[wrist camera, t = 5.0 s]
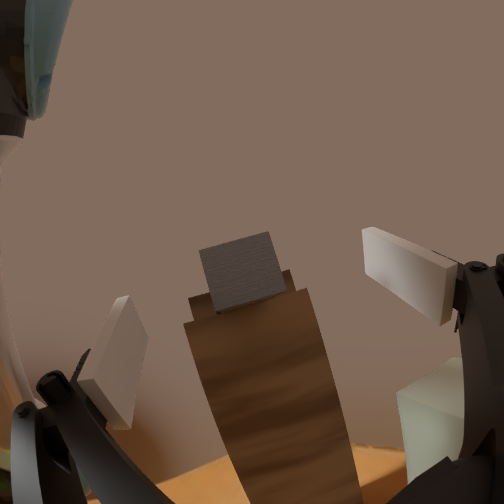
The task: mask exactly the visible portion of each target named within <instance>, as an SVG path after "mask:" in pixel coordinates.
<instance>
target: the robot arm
mask: <svg viewBox="0 0 504 504" xmlns="http://www.w3.org/2000/svg"><path fill="white" fill-rule="evenodd" d="M72 1H73V0H0V179H1V170H2V167H3V164H4V162H5V161H6V160H7V159H8V158H9V156H10V155H11V154H12V153H13V152H14V151H15V150H16V149H17V148H18V147H19V146H20V145H21V144H22V141H23V136H24V130H25V125H26V121H27V120H28V119H29V120H33V121H34V120H35V119H38V118H41V117H42V116H43V115H44V113H45V111H46V106H47V102H48V96H49V91H50V84H51V79H52V72H53V69H54V66H55V62H56V59H57V55H58V50H59V47H60V43H61V39H62V35H63V32H64V28H65V25H66V21H67V18H68V15H69V11H70V8H71V5H72ZM362 237H363V246H364V259H365V273H366V274H367V275H368V276H370V277H371V278H373V279H374V280H376V281H377V282H379V283H380V284H381V285H383V286H384V287H386V288H387V289H389V290H390V291H391V292H393V293H394V294H396V295H397V296H399V297H400V298H401V299H403V300H404V301H406V302H407V303H408V304H410V305H411V306H413V307H414V308H415V309H417V310H418V311H419V312H421V313H422V314H424V315H425V316H426V317H428V318H429V319H430V320H432V321H433V322H434V323H436V324H437V325H438V326H441V325H443V324H445V323H446V322H448V321H450V320H451V316H452V310H453V308H454V309H456V310H457V311H458V315H457V320H456V326H455V331H454V332H457V329H459V336H460V344H461V353H462V364H463V379H464V435H463V444H462V448H461V451H460V454H459V456H458V459H457V460H454V461H451V460H450V458H449V457H448V456H446V457H445V458H444V459H442V460H441V461H439V462H438V463H437V464H435V465H434V466H432V467H431V468H429V469H428V470H426V471H425V472H423V473H422V474H420V475H419V476H417V477H416V478H415V479H414V480H413V481H411V482H410V483H409V484H408V485H407V486H406V487H405V488H404V489H403V490H402V491H400V492H399V493H398V494H397V495H396V496H395V497H394V498H392V499H391V500H390V501H389V502H387V503H386V504H504V254H500V255H498V256H497V259H496V266H492V267H489V266H488V265H486V264H484V263H482V262H478V261H472V262H468V263H466V264H465V265H463V264H461V263H459V262H457V261H455V260H452V259H450V258H447V257H445V256H443V255H441V254H439V253H437V252H435V251H431V250H428V249H426V248H423V247H421V246H419V245H416V244H414V243H411V242H409V241H407V240H404V239H402V238H400V237H397V236H395V235H392V234H390V233H387V232H385V231H382V230H380V229H377V228H375V227H370V228H366V229H363V230H362ZM147 341H148V336H147V334H146V331H145V329H144V327H143V325H142V323H141V321H140V318H139V316H138V314H137V312H136V310H135V307H134V305H133V302H132V300H131V298H130V295H127V296H124V297H120V298H117V299H116V301H115V303H114V305H113V307H112V309H111V310H110V312H109V314H108V316H107V318H106V320H105V322H104V324H103V326H102V328H101V330H100V332H99V334H98V336H97V338H96V340H95V342H94V344H93V346H92V348H91V349H88V350H87V351H86V352H85V353H84V354H83V356H82V357H81V359H80V361H79V363H78V364H79V365H77V367H76V371H75V372H74V374H73V376H72V378H71V380H70V382H68V380H67V379H66V377H65V376H64V374H63V373H62V372H61V371H58V370H55V371H51V372H49V373H47V374H45V375H44V376H43V377H42V378H41V379H40V380H39V381H38V383H37V385H36V390H37V392H38V393H39V394H40V396H41V397H42V398H43V399H44V401H45V402H46V403H47V405H48V406H47V407H46V406H45V405H44V404H43V403H41V402H40V401H38V400H37V399H35V398H34V397H33V395H32V392H31V390H30V387H29V384H28V381H27V378H26V376H25V373H24V370H23V367H22V364H21V360H20V357H19V353H18V350H17V347H16V342H15V339H14V335H13V331H12V326H11V322H10V317H9V312H8V307H7V301H6V296H5V289H4V282H3V274H2V266H1V253H0V504H87V501H86V497H85V496H87V495H88V494H90V493H91V491H93V492H94V494H95V495H96V497H97V498H98V500H99V501H100V503H101V504H175V503H174V502H173V501H171V500H170V499H169V498H168V497H167V496H166V495H165V494H164V493H163V492H162V491H161V490H160V489H159V488H158V487H157V486H156V485H155V484H154V483H153V482H151V480H150V479H149V478H148V477H147V476H146V475H145V474H144V473H143V472H142V471H141V470H140V469H139V468H138V467H137V466H136V465H135V464H134V462H133V461H132V460H131V459H130V458H129V457H128V455H127V454H126V453H125V452H124V451H123V450H122V449H121V447H120V446H119V445H118V444H117V442H116V441H115V440H114V439H113V437H112V436H111V435H110V433H109V432H108V431H107V430H106V429H105V428H106V423H107V422H108V423H109V424H110V425H111V426H112V428H113V429H114V430H123V429H131V425H132V419H133V413H134V407H135V401H136V395H137V390H138V384H139V379H140V374H141V369H142V364H143V360H144V354H145V350H146V346H147Z"/></svg>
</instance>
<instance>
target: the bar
mask: <svg viewBox="0 0 504 504" xmlns="http://www.w3.org/2000/svg"><path fill="white" fill-rule="evenodd" d="M199 253H200V257H201V261H202V264H203V269H204V272H205V276H206V280H207V283H208V287H209V291H210V294H211V298H212V301H213V305H214V308H215V311H217V312H222V313H225V312H228V311H232V310H235V309H239V308H242V307H246V306H249V305H253V304H256V303H259V302H263V301H266V300H269V299H271V298H273V297H275V296H277V295H279V294H281V293H283V292H285V291H287V288H286V285H285V282H284V279H283V276H282V272H281V270H280V266H279V263H278V260H277V257H276V254H275V251H274V247H273V245H272V241H271V238H270V235H269V232H264V233H260V234H257V235H253V236H250V237H246V238H242V239H239V240H235V241H231V242H228V243H224V244H220V245H217V246H213V247H209V248H206V249H202V250H199Z"/></svg>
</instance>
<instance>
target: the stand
mask: <svg viewBox="0 0 504 504" xmlns="http://www.w3.org/2000/svg"><path fill="white" fill-rule="evenodd" d="M282 276H283V279H284V282H285V285H286V288H287V291H285V292H283V293H281V294H279V295H277V296H275V297H273V298H271V299H269V300H266V301H263V302H259V303H256V304H253V305H249V306H246V307H242V308H239V309H235V310H232V311H228V312H225V313H222V312H217V311H215V308H214V305H213V301H212V298H211V294H210V292H209V293H205V294H202V295H198V296H194V297H191V298H188V299H189V304H190V307H191V311H192V315H193V318H194V321H191V322H188V323H184V328H185V331H186V335H187V338H188V342H189V345H190V348H191V352H192V355H193V358H194V361H195V364H196V367H197V370H198V374H199V377H200V380H201V383H202V385H203V388H204V391H205V394H206V397H207V400H208V403H209V405H210V408H211V411H212V414H213V416H214V419H215V422H216V424H217V427H218V429H219V432H220V435H221V437H222V440H223V442H224V445H225V447H226V450H227V452H228V454H229V457H230V459H231V461H232V464H233V466H234V468H235V471H236V473H237V475H238V477H239V480H240V482H241V484H242V486H243V488H244V491H245V493H246V495H247V497H248V499H249V501H250V503H251V504H363V500H362V495H361V490H360V485H359V481H358V476H357V471H356V467H355V462H354V458H353V454H352V449H351V445H350V441H349V437H348V433H347V429H346V425H345V421H344V417H343V413H342V409H341V405H340V401H339V398H338V393H337V390H336V386H335V382H334V379H333V375H332V371H331V368H330V364H329V360H328V357H327V353H326V350H325V347H324V343H323V340H322V336H321V333H320V329H319V326H318V323H317V319H316V316H315V313H314V309H313V306H312V303H311V300H310V296H309V293H308V290H307V288H305V289H301V290H298V291H296V289H295V286H294V282H293V279H292V276H291V273H290V270H286V271H283V272H282Z"/></svg>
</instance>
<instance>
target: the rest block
mask: <svg viewBox="0 0 504 504" xmlns="http://www.w3.org/2000/svg"><path fill="white" fill-rule="evenodd" d="M396 397H397V402H398V408H399V413H400V419H401V426H402V433H403V441H404V449H405V457H406V467H407V479H408V484H409V483H410V482H411V481H413V480H414V479H415V478H416V477H417V476H419V475H420V474H422V473H423V472H425V471H426V470H428V469H429V468H431V467H432V466H434V465H435V464H437V463H438V462H439V461H441V460H442V459H444V458H445V457H446V456H448V457H449V458H450V460H451V461H454V460H457V459H458V456H459V454H460V451H461V448H462V444H463V435H464V379H463V364H462V358H455V357H452V358H451V359H449V360H448V361H447V362H445V363H444V364H442V365H441V366H439V367H438V368H436V369H435V370H433V371H431V372H430V373H428V374H427V375H425V376H424V377H422V378H420V379H419V380H417V381H415V382H414V383H412V384H410V385H409V386H407V387H405V388H403V389H402V390H400V391H398V392H396Z"/></svg>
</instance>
